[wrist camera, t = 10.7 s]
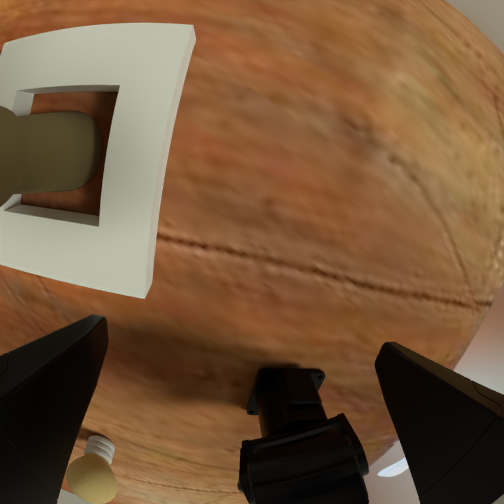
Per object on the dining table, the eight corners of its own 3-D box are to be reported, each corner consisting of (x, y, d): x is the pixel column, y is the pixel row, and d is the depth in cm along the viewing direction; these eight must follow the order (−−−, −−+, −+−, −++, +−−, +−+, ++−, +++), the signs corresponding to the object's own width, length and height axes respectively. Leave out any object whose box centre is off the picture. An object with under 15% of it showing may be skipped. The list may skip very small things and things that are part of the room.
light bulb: (111, 456, 29) (99, 512, 19) (73, 433, 27) (54, 489, 17) (134, 446, 28) (123, 510, 18) (92, 421, 26) (72, 486, 16)
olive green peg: (90, 96, 16) (-11, 64, 5) (113, 170, 18) (14, 196, 7) (30, 135, 16) (-74, 141, 5) (51, 203, 18) (-49, 251, 7)
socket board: (152, 282, 21) (144, 298, 18) (-3, 249, 18) (-18, 258, 16) (196, 39, 15) (192, 25, 13) (20, 49, 13) (4, 42, 10)
